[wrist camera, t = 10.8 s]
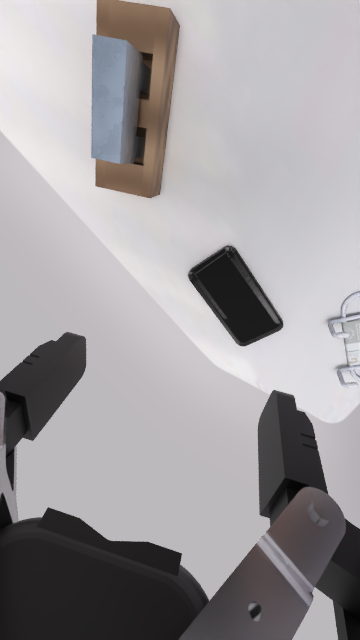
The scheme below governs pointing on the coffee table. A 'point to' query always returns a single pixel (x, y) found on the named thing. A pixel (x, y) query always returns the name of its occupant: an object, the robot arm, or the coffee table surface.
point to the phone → (235, 296)
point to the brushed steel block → (117, 99)
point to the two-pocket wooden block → (153, 112)
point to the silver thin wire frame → (349, 341)
